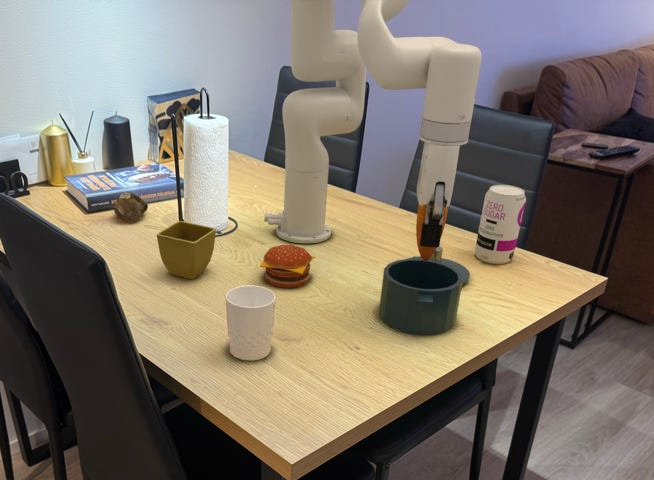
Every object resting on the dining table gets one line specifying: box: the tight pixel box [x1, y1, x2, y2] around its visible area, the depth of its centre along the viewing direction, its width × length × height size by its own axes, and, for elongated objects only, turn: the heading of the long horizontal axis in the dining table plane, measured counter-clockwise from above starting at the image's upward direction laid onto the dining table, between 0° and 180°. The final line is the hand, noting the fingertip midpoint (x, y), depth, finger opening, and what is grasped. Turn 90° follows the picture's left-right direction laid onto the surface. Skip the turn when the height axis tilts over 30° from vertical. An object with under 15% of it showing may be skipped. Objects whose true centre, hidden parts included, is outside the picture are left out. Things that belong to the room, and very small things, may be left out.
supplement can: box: [473, 184, 527, 265], centre depth 146 cm, size 8×8×15 cm
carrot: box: [415, 201, 450, 262], centre depth 116 cm, size 5×5×15 cm
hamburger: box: [259, 244, 316, 289], centre depth 136 cm, size 9×10×7 cm
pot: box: [378, 255, 464, 336], centre depth 123 cm, size 14×19×8 cm
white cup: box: [225, 284, 277, 362], centre depth 111 cm, size 8×8×10 cm
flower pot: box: [156, 220, 217, 280], centre depth 136 cm, size 9×9×9 cm
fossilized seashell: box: [113, 192, 149, 222], centre depth 164 cm, size 8×7×10 cm
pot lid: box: [406, 246, 471, 286], centre depth 139 cm, size 15×15×6 cm
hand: (428, 239), depth 117 cm, fingers closed on carrot, 4 cm apart
